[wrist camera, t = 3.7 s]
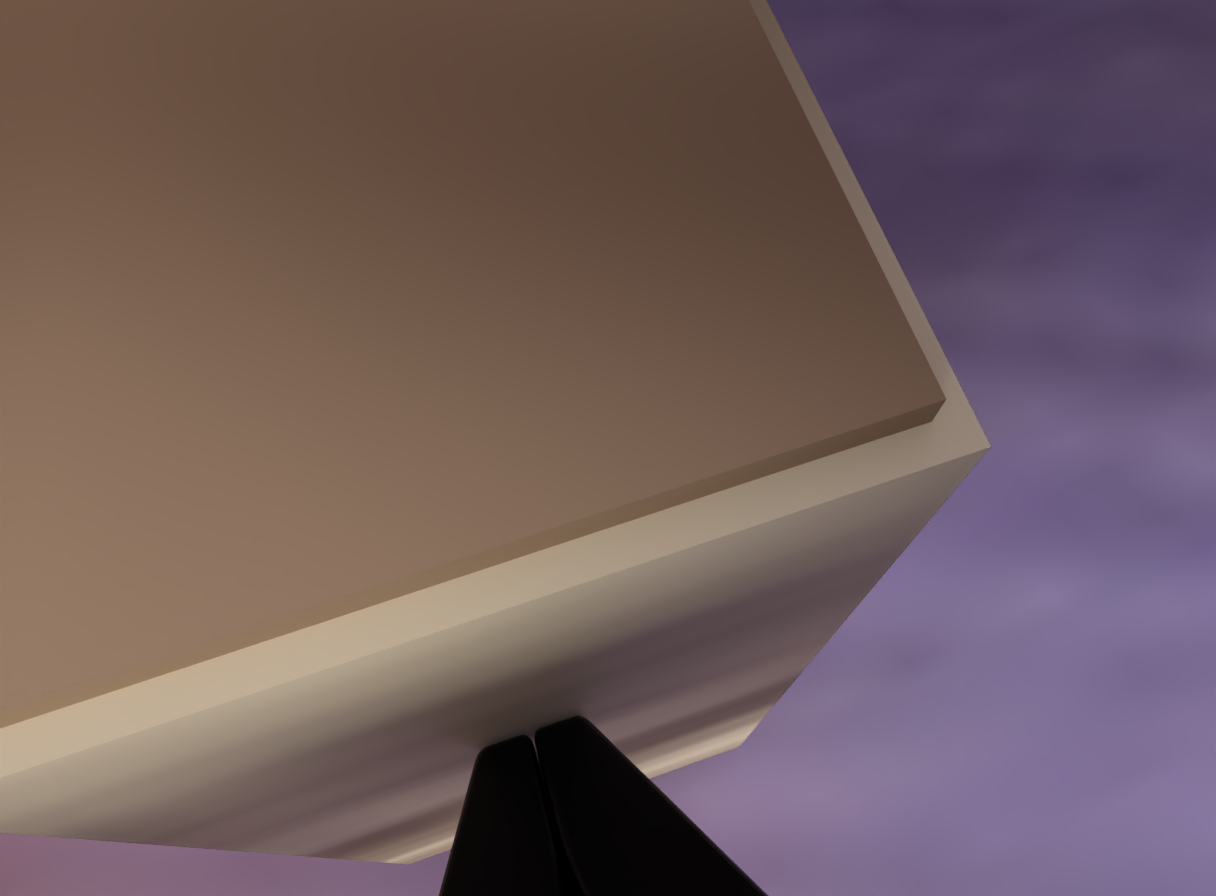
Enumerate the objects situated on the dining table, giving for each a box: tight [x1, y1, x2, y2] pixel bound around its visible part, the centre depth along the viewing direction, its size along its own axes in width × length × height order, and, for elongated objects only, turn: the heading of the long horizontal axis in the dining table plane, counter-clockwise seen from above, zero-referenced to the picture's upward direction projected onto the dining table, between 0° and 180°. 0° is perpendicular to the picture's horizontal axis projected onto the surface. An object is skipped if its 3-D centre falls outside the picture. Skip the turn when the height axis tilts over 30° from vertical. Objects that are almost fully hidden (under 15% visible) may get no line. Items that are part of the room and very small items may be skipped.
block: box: [0, 0, 991, 864], centre depth 11 cm, size 5×5×12 cm
